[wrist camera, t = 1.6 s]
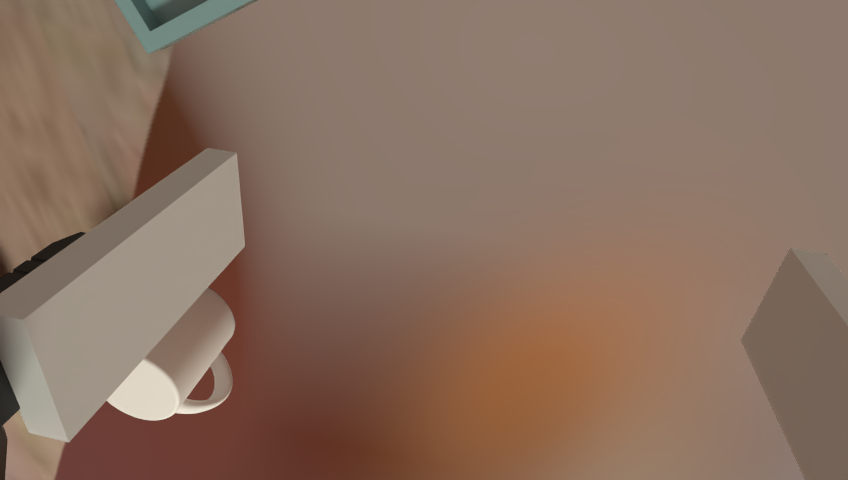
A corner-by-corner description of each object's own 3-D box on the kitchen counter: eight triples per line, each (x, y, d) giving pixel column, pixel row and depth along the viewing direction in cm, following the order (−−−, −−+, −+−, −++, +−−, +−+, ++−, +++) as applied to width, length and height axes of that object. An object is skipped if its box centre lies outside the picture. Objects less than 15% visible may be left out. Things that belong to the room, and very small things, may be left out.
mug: (132, 339, 44) (223, 440, 48) (201, 268, 52) (272, 359, 57) (68, 364, 47) (159, 456, 51) (143, 293, 56) (215, 377, 60)
